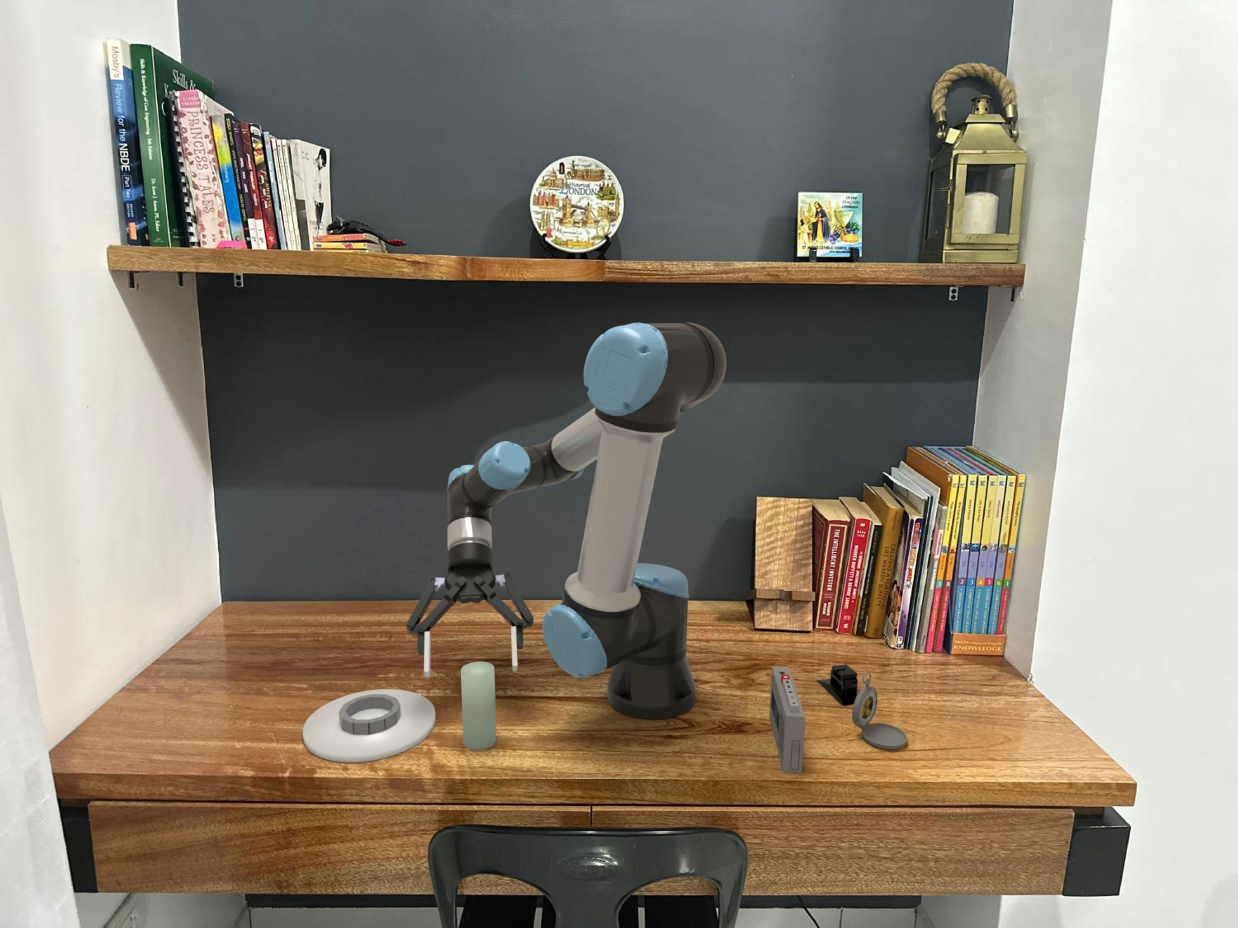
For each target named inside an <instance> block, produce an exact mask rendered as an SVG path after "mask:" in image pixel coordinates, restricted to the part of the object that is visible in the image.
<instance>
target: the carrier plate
mask: <svg viewBox="0 0 1238 928" xmlns="http://www.w3.org/2000/svg"><path fill="white" fill-rule="evenodd" d="M435 725H436V710H435V707H434V704H433V703H432V702H431V701H430V700H429V699H428V698H426V697H425V696H423V695H421V694H418V693H416V692H413V691H409V690H403V689H394V688H391V689H390V688H384V689H383V688H382V689H381V688H380V689H371V690H363V691H359V692H354V693H351V694H347V695H344V696H341V697H338V698H336V699H334V700H333V699H332V701H329V702H327V703H326V704H324V705H322V706H320V707H319V708H318V709H316V710H315V711H314V712H312V713H311V714H310V715H309V717H308V718H307V719H306V721H305V722H304V725H303V729H302V737H303V738H302V739H303V744H304V746H305V747H306V749H307V750H308V751H309V752H310V753H311V754H313V755H315V756H316V757H317V758H321V759H324V760H327V761H331V762H338V763H349V764H350V763H365V762H372V761H378V760H382V759H388V758H390V757H393V756H396V754H397V755H399V754H401V752H402V753H404V752H406V751H408V750H410V749H413V748H414V747H415V746H417V745H418V744H420V743H421V742H423V741H424V740H425V739H426V738H427V737H428V736H429V735H430V734H431V732H432V731H433V729H434V727H435Z"/></svg>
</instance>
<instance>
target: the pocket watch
mask: <svg viewBox="0 0 1238 928" xmlns="http://www.w3.org/2000/svg"><path fill="white" fill-rule="evenodd" d="M867 674H868V675H869V677H866V679H865V676H866V675H867ZM861 680H862V683H864V684H865V686H864V687H862V688H861V689H860V690H859V691H860V692H859V693H858V695H857V697H856V699H855V702H854V705H852V714H851V718H852V722H853V724H854V726H856V727H857V728H859V729H861V730H862V731H861V732H862V737H863V739H864V740H865V741H866V742H867V743H868V744H870V745H872V746H875V747H877V748H881V749H885V750H896V749H901V748H903V747H904V746H906V744H907V742H908V736H907V734H906V733H905V732H904V731H903V730H902V729H900V728H899V727H897V726H894V725H891V724H888V723H882V722H879V723H878V722H877V723H876V722H873V723H871V721H872V720H873V718H874V716H875V713H876V710H877V706H878V701H879V700H878V693H877V689H876V688H875V687H874V686H872V685H870V684H871V680H872V673H871V672H870V671H866V672H864V673H863V675H862V679H861ZM867 700H868V701H867Z"/></svg>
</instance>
